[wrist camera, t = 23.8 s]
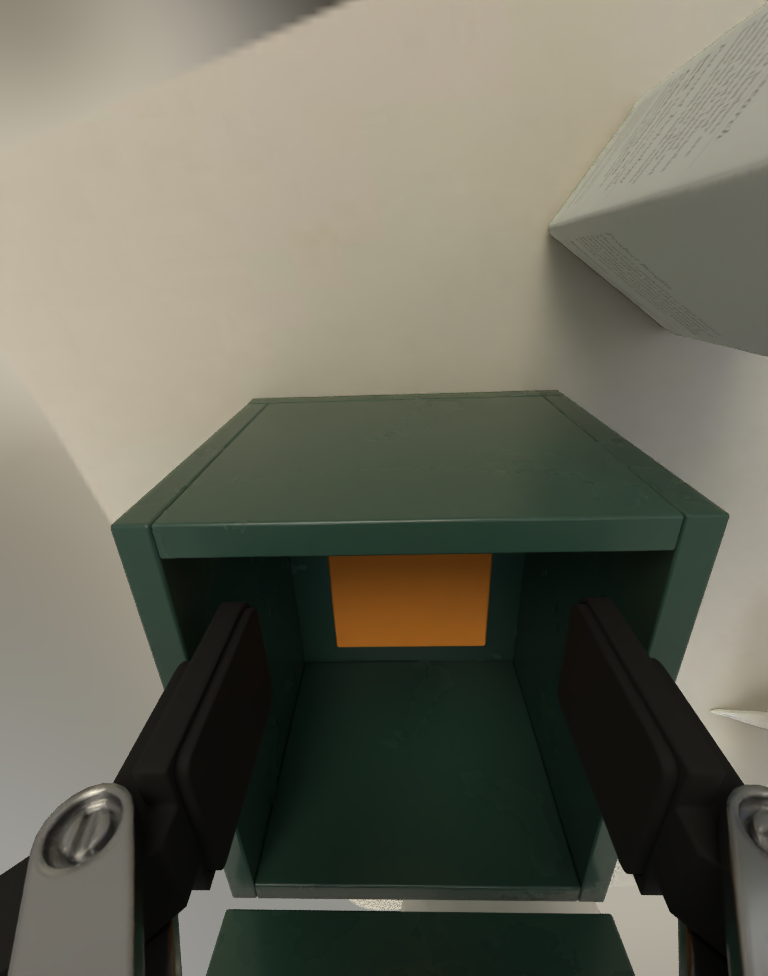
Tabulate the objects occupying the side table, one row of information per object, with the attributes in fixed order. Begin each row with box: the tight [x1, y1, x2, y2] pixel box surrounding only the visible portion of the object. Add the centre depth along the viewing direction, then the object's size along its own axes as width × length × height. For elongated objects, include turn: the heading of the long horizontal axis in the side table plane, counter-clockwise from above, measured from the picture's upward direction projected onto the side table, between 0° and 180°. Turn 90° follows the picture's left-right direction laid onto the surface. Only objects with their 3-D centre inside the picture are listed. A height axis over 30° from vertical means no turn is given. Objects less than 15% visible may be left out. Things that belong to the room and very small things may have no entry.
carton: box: [328, 554, 493, 647], centre depth 16 cm, size 4×4×6 cm
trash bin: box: [111, 390, 729, 902], centre depth 16 cm, size 14×12×10 cm
